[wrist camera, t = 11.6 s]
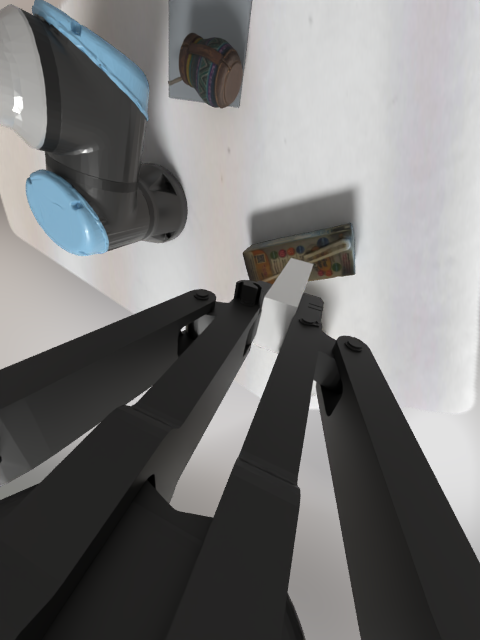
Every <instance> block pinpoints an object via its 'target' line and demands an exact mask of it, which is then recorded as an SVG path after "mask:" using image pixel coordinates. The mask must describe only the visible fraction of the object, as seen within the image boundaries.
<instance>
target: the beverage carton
mask: <svg viewBox="0 0 480 640" xmlns="http://www.w3.org/2000/svg"><path fill="white" fill-rule="evenodd" d="M354 247H355V244H354V232H353V226H352V224H351V223H349V224H345V225H340V226H336V227H332V228H327V229H322V230H317V231H313V232H308V233H303V234H298V235H293V236H288V237H284V238H279V239H275V240H270V241H266V242H262V243H257V244H254V245H251V246H250V247H249V248H247V249H246V250H245V251H244V252H243V257H244V260H245V265H246V269H247V273H248V276H249V279H250V281H255V282H258V281H264V282H267V283H270V284H274V282H275V281H276V279H277V278H278V276H279V275H280V273H281V272H282V270H283V269H284V268H285V266H286V265H287V263H288V262H289V260H290V259H291V258H293V259H297V260H300V261H304V262H308V263H311V264H313V267H312V270H311V273H310V276H309V279H308V281H314V280H321V279H328V278H334V277H337V276H342V277H343V276H349V275H355V254H354Z"/></svg>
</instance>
